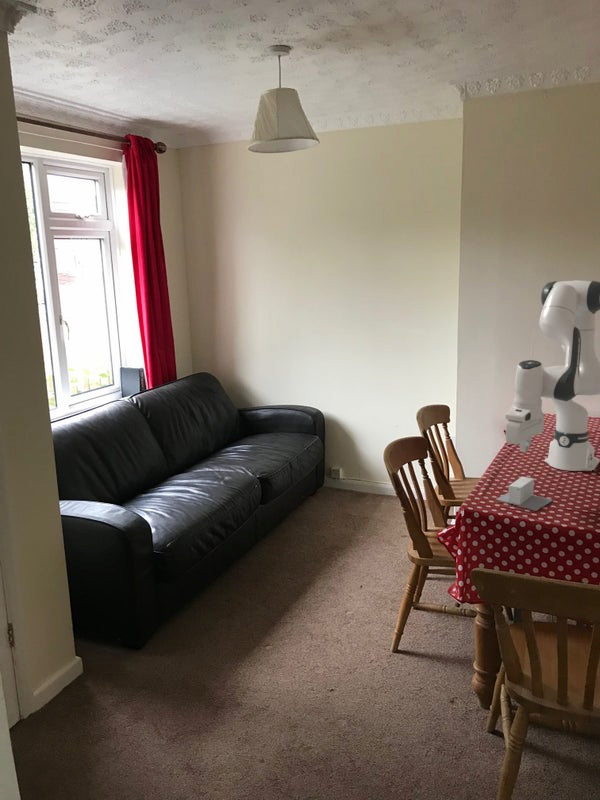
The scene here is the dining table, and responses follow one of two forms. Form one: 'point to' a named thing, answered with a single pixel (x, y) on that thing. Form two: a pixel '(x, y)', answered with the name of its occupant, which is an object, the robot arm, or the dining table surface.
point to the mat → (528, 502)
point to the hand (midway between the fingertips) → (524, 451)
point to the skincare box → (520, 490)
